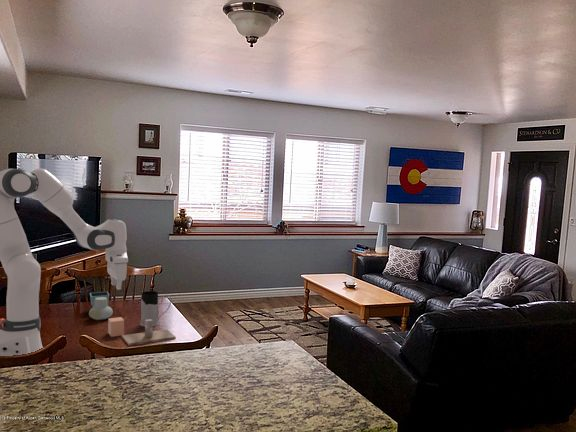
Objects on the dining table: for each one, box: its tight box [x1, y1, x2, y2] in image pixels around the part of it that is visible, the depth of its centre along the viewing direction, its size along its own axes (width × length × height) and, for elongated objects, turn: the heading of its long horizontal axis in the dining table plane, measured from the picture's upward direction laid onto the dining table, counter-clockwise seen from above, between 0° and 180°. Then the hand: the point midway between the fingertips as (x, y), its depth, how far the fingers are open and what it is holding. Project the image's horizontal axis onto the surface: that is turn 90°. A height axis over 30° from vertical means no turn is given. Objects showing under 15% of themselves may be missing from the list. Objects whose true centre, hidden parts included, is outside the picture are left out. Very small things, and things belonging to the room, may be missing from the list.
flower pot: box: [89, 291, 110, 309], centre depth 260 cm, size 9×9×9 cm
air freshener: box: [88, 297, 114, 321], centre depth 247 cm, size 11×8×10 cm
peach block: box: [107, 316, 125, 337], centre depth 224 cm, size 6×6×7 cm
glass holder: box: [139, 290, 172, 328], centre depth 241 cm, size 9×14×15 cm, turn 109°
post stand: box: [121, 319, 177, 347], centre depth 220 cm, size 20×12×8 cm, turn 121°
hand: (116, 287), depth 223 cm, fingers open, 8 cm apart
